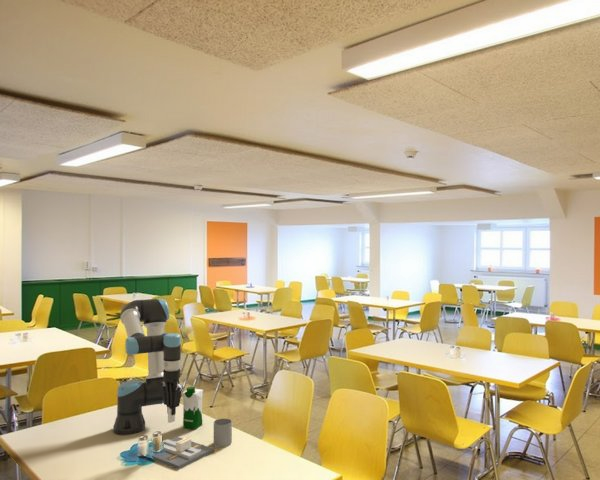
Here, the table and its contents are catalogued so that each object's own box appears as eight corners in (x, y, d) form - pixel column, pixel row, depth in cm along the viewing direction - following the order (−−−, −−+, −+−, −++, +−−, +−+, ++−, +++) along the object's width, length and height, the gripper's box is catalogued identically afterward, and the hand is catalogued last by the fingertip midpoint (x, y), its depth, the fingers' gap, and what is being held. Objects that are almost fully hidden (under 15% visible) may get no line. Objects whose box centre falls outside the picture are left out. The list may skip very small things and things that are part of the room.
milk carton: (180, 428, 235) (180, 388, 235) (190, 422, 243) (190, 383, 244) (195, 430, 232) (195, 390, 232) (205, 424, 240) (205, 385, 241)
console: (141, 455, 204) (141, 449, 204) (176, 439, 221) (176, 434, 221) (178, 469, 191) (178, 462, 191) (213, 451, 208) (213, 445, 208)
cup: (227, 448, 212) (227, 425, 212) (210, 446, 213) (210, 424, 214) (234, 440, 220) (234, 419, 220) (217, 439, 222) (217, 417, 222)
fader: (175, 453, 202) (175, 441, 202) (186, 448, 207) (186, 437, 207) (180, 455, 200) (180, 443, 201) (191, 450, 206) (191, 438, 206)
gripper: (155, 368, 209) (154, 420, 209) (175, 373, 202) (174, 427, 202) (168, 364, 216) (168, 415, 216) (188, 369, 208) (187, 422, 208)
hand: (171, 421), depth 209 cm, fingers closed
